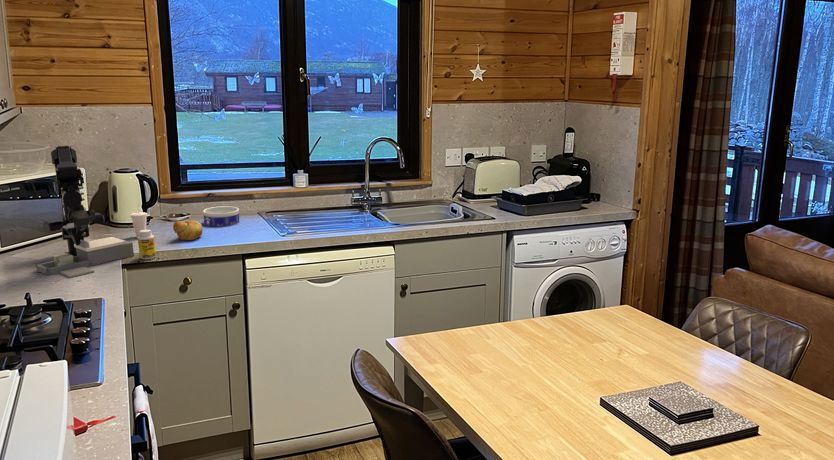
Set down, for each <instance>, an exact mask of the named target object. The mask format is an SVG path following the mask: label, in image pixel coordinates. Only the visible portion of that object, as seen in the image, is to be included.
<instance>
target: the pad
mask: <svg viewBox="0 0 834 460" xmlns="http://www.w3.org/2000/svg"><path fill="white" fill-rule="evenodd" d="M93 273H95V270H93V269H90V268H89V267H87V266H86V267H84V266H83V267H78V268H74V269H69V270H65V271H60V273H59V274H61V275H62V276H65V277H67V278H69V279H73V278H77V277H80V276H85V275H89V274H93Z"/></svg>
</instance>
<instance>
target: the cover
mask: <svg viewBox="0 0 834 460" xmlns="http://www.w3.org/2000/svg"><path fill="white" fill-rule="evenodd" d="M121 239H122V238H117V237H114V236H110V237H104V238H98V239H95V240H90V241H86V240H85V239H84V240H80V244H79V245H78V246H76V245H75V244H74V247H75V248H78V249H81V250H84V251H86V252H89V251H93V250H98V249H103V248H108V247H112V246H117V245H122V244H126V243H125V241H124V240H125V239H123V240H121Z"/></svg>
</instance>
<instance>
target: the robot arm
mask: <svg viewBox="0 0 834 460" xmlns="http://www.w3.org/2000/svg"><path fill="white" fill-rule="evenodd" d="M50 156H51V163H52V164H51V165H52V166H54V169H55V177H56V184H57V188H58V189H60V191H61V192H60V193H61V200H62V204H61V208H62V209H63V217H62V220H58V219H56V218H55V219H49V220H45V221H44V222H43V224H42V225H43V230H46V231H49V232H56V231H61V234H62V236H61V237H62V240H63V241H66V243H67V249H68V251H65V252H64V254H65V253H68V254H70V255H73V257H74V256H77V251H76V248H75V247H74V244H75V245H76V246H78V245H79V244H80V240H84V241H85V238H89V237H90V227H89V226H90V225H91V222H94V223H96V224H100V223H105V215H104V214H103V213H99V212H95V210H94V209H93V208H91V209H88V210H85V207H84V204H82V201H83V196H82V193H81V189H80V187H84V186H83V185H84V184H85V180H84V173H83V171H82V170H81V168H79V167H78V164H77V163H78V156H77V150H76V149H73V148H72V146H70V145H58V146H55V149H53V150H52V151H51V152H50Z"/></svg>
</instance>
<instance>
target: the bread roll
mask: <svg viewBox="0 0 834 460" xmlns="http://www.w3.org/2000/svg"><path fill="white" fill-rule="evenodd" d="M172 228H173V229H172V230H173V231H174V233H175V234H176V235H177V238H178V239H179V240H181V241H194V240H196V239H197V238H199V237H201V236H202V234H203V231H204V230H203V225H202V223H200V222H198V221H197V220H194V219H193V220H191V219H190V220H186V221H180V220H176V221H175V222H174V223H173V225H172Z"/></svg>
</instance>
